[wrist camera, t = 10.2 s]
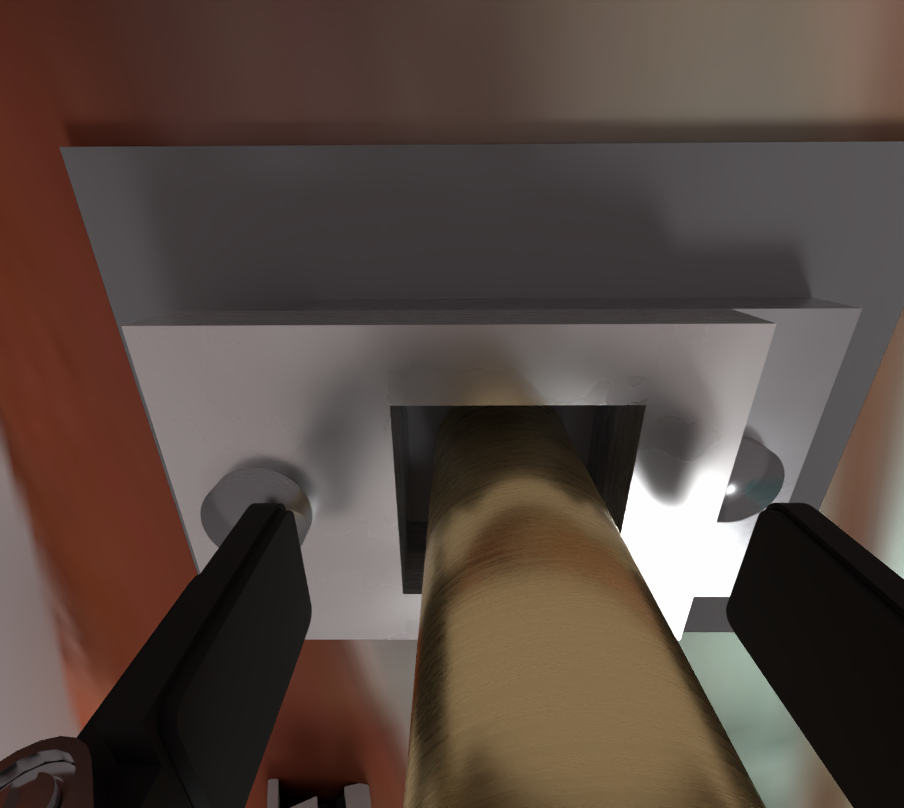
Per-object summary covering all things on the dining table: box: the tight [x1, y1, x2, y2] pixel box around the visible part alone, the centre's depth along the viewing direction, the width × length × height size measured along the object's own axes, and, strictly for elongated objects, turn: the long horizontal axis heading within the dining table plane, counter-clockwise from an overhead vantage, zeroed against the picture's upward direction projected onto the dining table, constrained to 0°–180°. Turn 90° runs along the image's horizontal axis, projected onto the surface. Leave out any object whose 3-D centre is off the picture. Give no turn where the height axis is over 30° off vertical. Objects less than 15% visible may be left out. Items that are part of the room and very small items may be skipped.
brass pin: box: [403, 405, 766, 808], centre depth 8 cm, size 4×4×10 cm
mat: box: [60, 141, 904, 632], centre depth 13 cm, size 21×16×1 cm
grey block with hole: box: [121, 297, 862, 640], centre depth 11 cm, size 16×9×4 cm, turn 90°
